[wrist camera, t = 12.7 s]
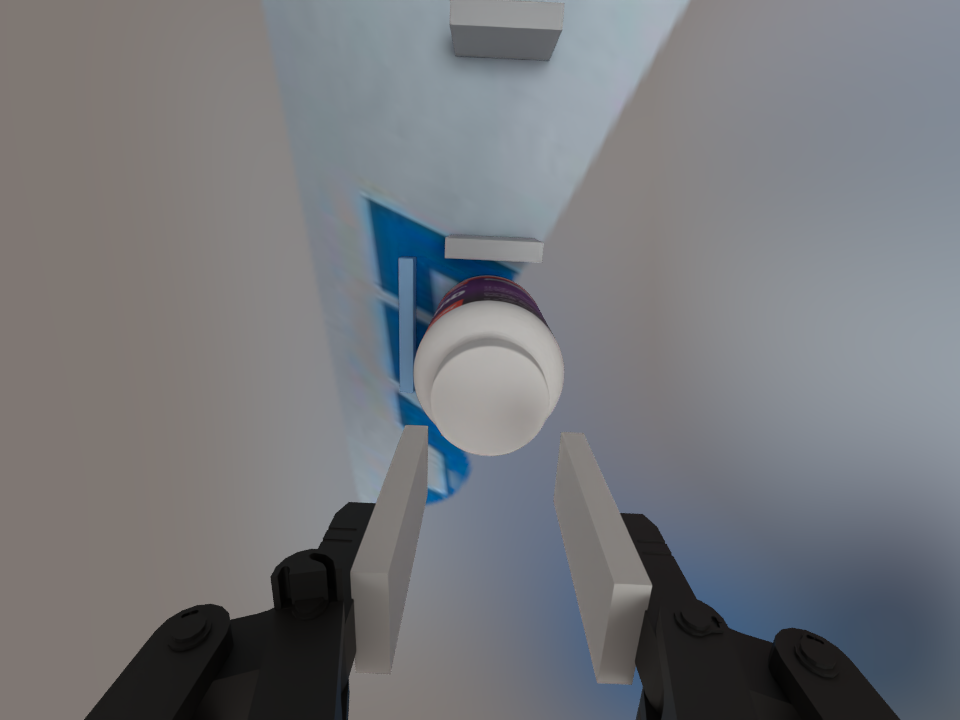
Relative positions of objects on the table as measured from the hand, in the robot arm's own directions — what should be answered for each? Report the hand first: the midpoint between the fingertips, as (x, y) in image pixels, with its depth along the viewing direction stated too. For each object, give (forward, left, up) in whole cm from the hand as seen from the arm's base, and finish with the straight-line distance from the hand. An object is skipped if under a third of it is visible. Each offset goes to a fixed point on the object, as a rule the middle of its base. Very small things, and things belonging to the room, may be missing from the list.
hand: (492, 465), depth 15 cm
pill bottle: (0, 0, -20) cm, 20 cm away
